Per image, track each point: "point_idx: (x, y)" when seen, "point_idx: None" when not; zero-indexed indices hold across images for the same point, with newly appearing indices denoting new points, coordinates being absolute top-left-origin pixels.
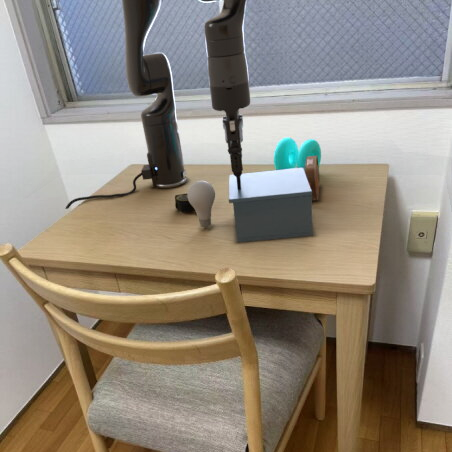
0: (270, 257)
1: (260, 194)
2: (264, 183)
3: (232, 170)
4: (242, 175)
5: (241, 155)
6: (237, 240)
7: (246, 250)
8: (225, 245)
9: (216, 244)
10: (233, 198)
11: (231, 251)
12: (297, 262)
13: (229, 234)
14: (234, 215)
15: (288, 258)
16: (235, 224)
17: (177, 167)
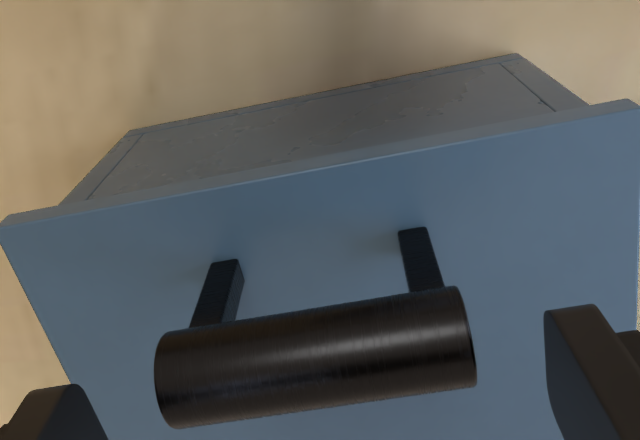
0: (15, 299)
1: (128, 422)
2: (346, 423)
3: (30, 403)
4: (583, 241)
5: (560, 429)
6: (125, 136)
7: (55, 190)
8: (87, 68)
9: (90, 9)
10: (22, 261)
11: (27, 117)
12: (3, 393)
13: (227, 62)
14: (66, 197)
15: (25, 363)
16: (90, 171)
17: None
